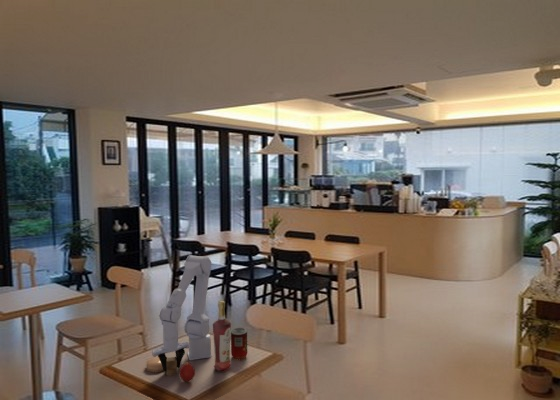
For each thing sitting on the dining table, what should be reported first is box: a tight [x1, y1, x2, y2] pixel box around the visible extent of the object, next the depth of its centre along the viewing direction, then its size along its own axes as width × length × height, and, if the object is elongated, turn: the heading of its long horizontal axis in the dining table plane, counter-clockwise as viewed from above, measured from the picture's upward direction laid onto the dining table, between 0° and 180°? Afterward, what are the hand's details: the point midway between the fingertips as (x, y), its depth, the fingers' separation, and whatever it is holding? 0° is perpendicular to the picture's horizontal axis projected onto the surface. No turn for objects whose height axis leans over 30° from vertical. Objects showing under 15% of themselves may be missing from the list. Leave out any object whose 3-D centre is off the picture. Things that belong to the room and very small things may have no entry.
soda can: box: [230, 327, 248, 361], centre depth 177 cm, size 7×7×12 cm
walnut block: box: [165, 356, 178, 377], centre depth 164 cm, size 4×4×6 cm
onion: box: [179, 361, 196, 383], centre depth 156 cm, size 6×6×8 cm
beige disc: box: [145, 356, 164, 373], centre depth 169 cm, size 9×9×2 cm
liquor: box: [212, 300, 232, 372], centre depth 166 cm, size 7×7×28 cm
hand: (171, 369), depth 164 cm, fingers closed on walnut block, 5 cm apart
